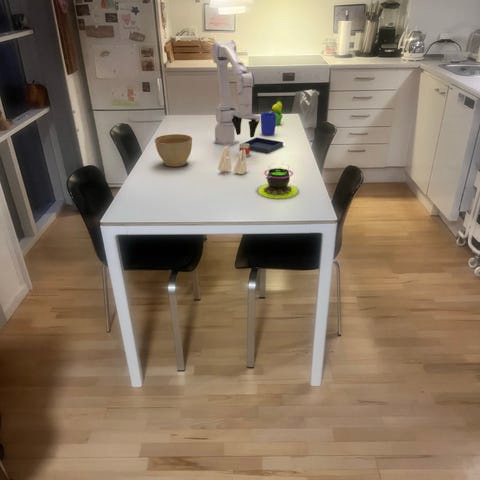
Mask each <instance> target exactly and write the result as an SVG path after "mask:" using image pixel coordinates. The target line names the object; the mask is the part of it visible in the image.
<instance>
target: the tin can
mask: <svg viewBox="0 0 480 480" xmlns="http://www.w3.org/2000/svg"><path fill="white" fill-rule="evenodd" d="M241 150H242V152H243V150H245V152H246V158H247V157H249V156H250V155H251V154H250V153H251V150H250V144H247V143H244V142H241V143H239V152H240V151H241Z"/></svg>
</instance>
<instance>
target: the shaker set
mask: <svg viewBox="0 0 480 480" xmlns="http://www.w3.org/2000/svg"><path fill="white" fill-rule="evenodd" d="M217 170H218V171H220V172H223V173H228V172H229V171H230V170H232V157H231V147H230V145H225V146H224V147H223V149H222V153H221V156H220V159H219V163H218V166H217ZM247 170H248V168H247V157H246V152H245V150H243V152H242V150H241V151H240V150H239V153H238V156H237V158H236V162H235V166H234V168H233V171H232V173H234V174H238V175H244V174H246V173H247V172H248V171H247Z"/></svg>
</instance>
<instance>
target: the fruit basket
mask: <svg viewBox="0 0 480 480" xmlns="http://www.w3.org/2000/svg"><path fill="white" fill-rule="evenodd" d="M282 108H283V104H282V101H279V100H278V101H277V102H276V103H274V104H273V105H272V106H271V110H269V111H265V112H263V113H275V114H276V115H277V116H276V125H275V126H280V125H281V122H282V118H283V114H282V110H283V109H282Z"/></svg>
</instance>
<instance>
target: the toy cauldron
mask: <svg viewBox="0 0 480 480" xmlns="http://www.w3.org/2000/svg"><path fill="white" fill-rule="evenodd" d="M272 165H273V164H270V165H268V169H266V170H264V171H263V175H264V176H265V179H266V182H267V184H264V185H262V186H260V187H259V188H258V193H259V195H260V196H263V197H265V198H269V199H275V200H276V199H277V200H278V199H282V200H283V199H289V198H292V197H295V196H296V195H297V194H298V189H297V188H296V187H295V186H292V185H289V183H290V181H291V180H290V179H291V177H292V176H294V174H295V173H294V171H292V170H290V169H289V168H290V167H289V164H286V166H288V167H287V168H283V167H282V166H280V167H279V168H278V167H275V168H270V166H272ZM282 165H285V162H283V163H282Z"/></svg>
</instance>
